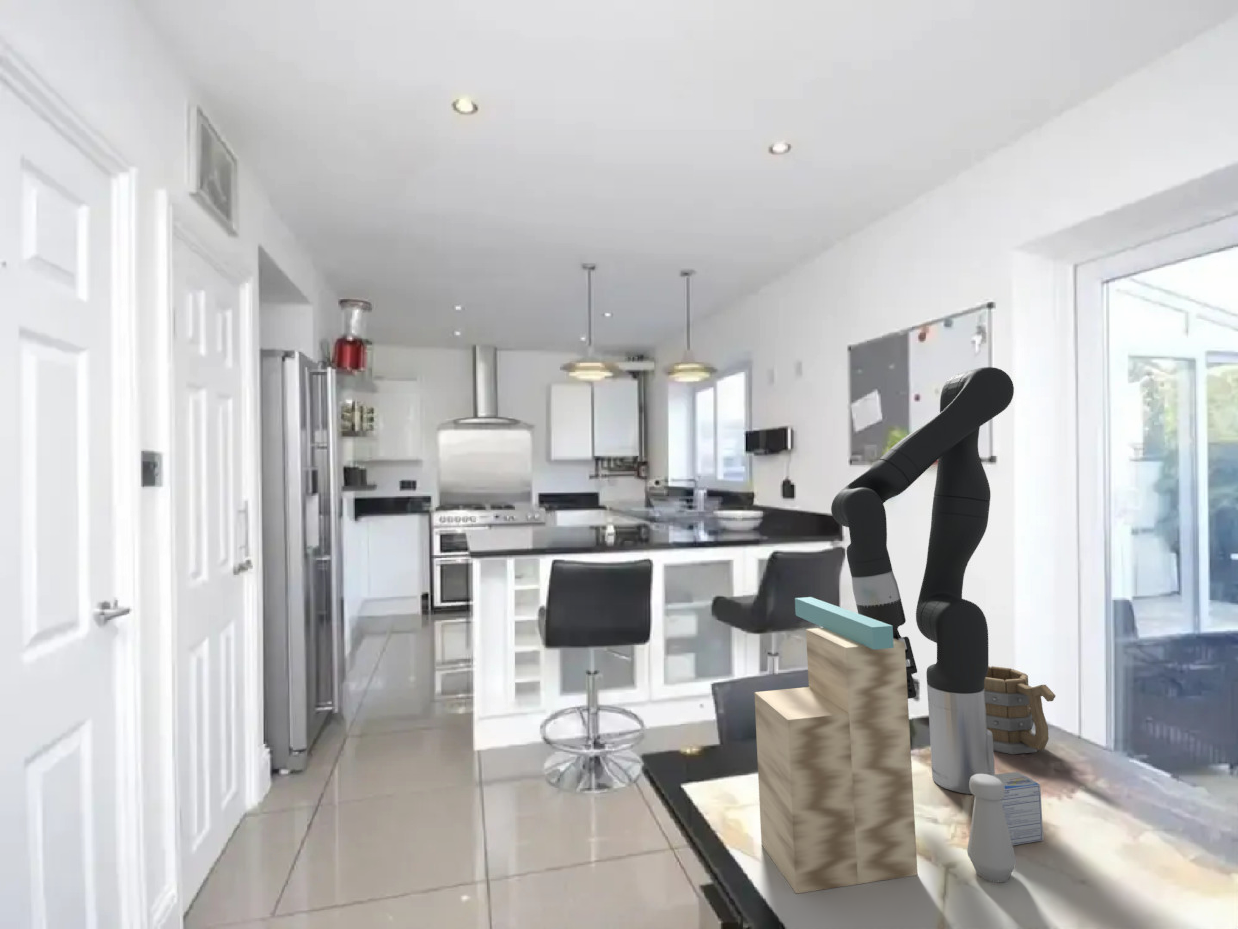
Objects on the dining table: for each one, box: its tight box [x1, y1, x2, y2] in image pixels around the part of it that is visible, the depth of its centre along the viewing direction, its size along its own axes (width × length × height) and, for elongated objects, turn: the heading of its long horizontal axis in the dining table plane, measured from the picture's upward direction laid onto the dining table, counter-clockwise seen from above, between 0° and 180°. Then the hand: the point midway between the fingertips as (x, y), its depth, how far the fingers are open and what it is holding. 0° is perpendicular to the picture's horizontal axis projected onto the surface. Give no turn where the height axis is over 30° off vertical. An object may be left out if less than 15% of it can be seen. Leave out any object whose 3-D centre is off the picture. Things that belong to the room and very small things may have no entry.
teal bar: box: [794, 596, 894, 649], centre depth 97 cm, size 3×24×3 cm, turn 10°
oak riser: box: [753, 627, 919, 894], centre depth 92 cm, size 18×12×32 cm, turn 100°
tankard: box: [984, 665, 1056, 755], centre depth 126 cm, size 20×13×15 cm, turn 6°
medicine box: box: [991, 771, 1044, 846], centre depth 95 cm, size 8×4×9 cm, turn 100°
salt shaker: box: [966, 774, 1017, 883], centre depth 87 cm, size 6×6×13 cm
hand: (898, 691), depth 110 cm, fingers open, 8 cm apart
